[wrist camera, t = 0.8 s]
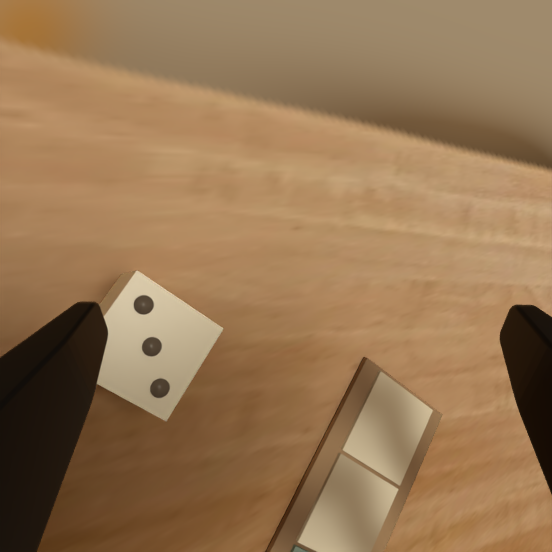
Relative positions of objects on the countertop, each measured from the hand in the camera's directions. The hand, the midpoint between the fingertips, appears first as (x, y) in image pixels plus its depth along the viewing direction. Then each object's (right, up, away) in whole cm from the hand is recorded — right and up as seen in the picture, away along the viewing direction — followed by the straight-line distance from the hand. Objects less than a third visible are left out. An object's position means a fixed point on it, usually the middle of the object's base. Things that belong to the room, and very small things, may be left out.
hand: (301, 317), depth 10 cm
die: (-7, -2, +10) cm, 12 cm away
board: (+2, -14, +14) cm, 20 cm away
